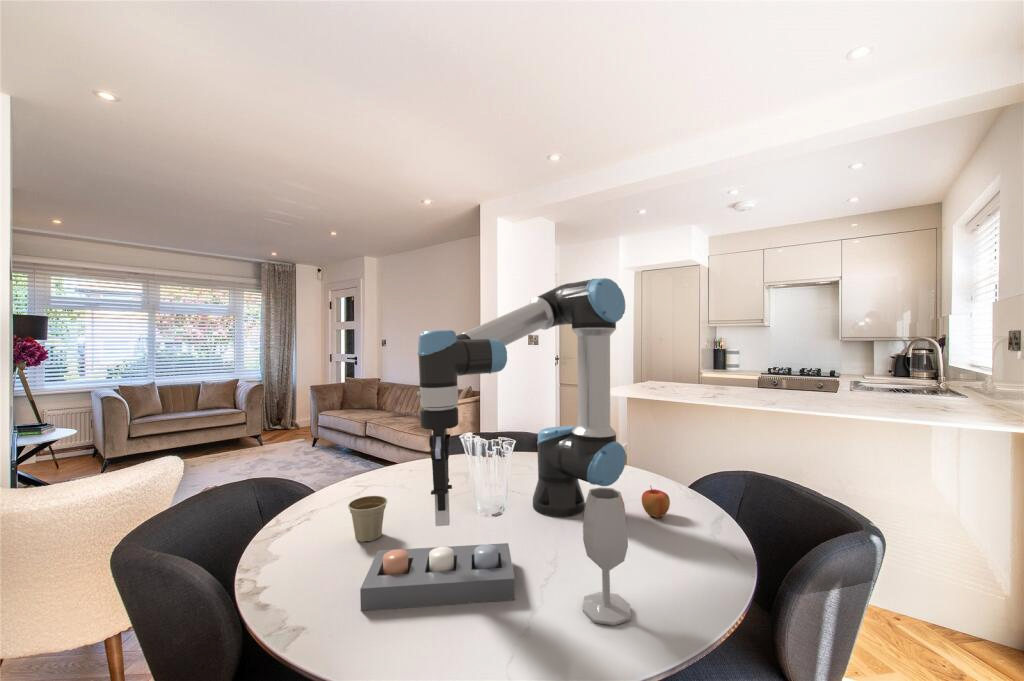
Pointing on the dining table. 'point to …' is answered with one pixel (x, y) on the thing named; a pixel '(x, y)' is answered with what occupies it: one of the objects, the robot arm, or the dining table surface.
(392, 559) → the terracotta key
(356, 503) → the flower pot
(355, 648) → the dining table surface
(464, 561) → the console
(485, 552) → the slate key
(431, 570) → the ivory key
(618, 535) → the wineglass
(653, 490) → the apple
